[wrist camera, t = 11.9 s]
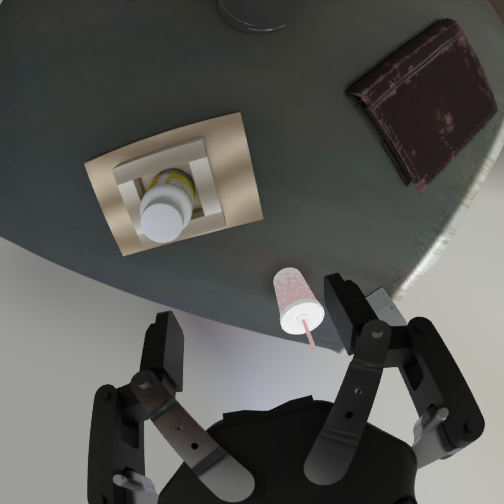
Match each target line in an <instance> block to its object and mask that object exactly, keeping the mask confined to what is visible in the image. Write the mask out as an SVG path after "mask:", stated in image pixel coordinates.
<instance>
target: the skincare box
mask: <svg viewBox="0 0 504 504" xmlns="http://www.w3.org/2000/svg"><path fill="white" fill-rule="evenodd" d="M366 299H367V301H368V302H369V304H370V305H371V307H372V309H373V310H374V312H375V313H376V315H377V317H378V318H379V320H383V321H385V322H387V323H388V324H389V325H390V326H404V325H408V324H407V323H406V321H405V319H404V318H403V316H402V315H401V313H400V312H399V310H398V309H397V307H396V306H395V304H394V303H393V301H392V300H391V298H390V297H389V295H388V294H387V293H386V291H385V290H384V288H383V287H381V288H380V289H378V290H377V291H375V292H373V293H372V294H370V295H369V296H367V297H366Z"/></svg>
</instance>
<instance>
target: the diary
mask: <svg viewBox="0 0 504 504" xmlns="http://www.w3.org/2000/svg"><path fill="white" fill-rule="evenodd" d="M345 95H346V96H349V95H355V96H358V97H361V99H360V100H359V101H358V102H359V103H361V102H362V101H364V103H365V104H366V106H365V107H364V110H365V111H366V113H367V114H368V116H369V117H370V118H371V120H372V121H373V123H374V124H375V126H376V127H377V129H378V130H379V132H380V133H381V135H382V137H383V138H384V140H383V141H382V142H381V145H382V147H383V148H384V150H385V151H386V153H387V155H388V156H389V158H390V160H391V161H392V163H393V165H394V167H395V169H396V170H397V172H398V174H399V175H400V177H401V179H402V180H403V182H404V183H405V185H406V186H408V185H409V183H410V181H411V180H412V181H413V184H414V183H415V185H416V188H417V190H418V193H419V194H420V193H421V192H422V191H423V190H424V189H425V188H426V187H427V186H428V185H429V184H430V183H431V182H432V181H433V180H434V179H435V178H436V177H437V176H438V175H439V174H440V173H441V172H442V171H443V170H444V169H445V168H446V167H447V166H448V165H449V164H450V162H451V161H452V160H453V159H454V158H455V157H456V156H457V155H458V154H459V153H460V152H461V151H462V150H463V148H464V147H465V146H466V145H467V144H468V143H469V142H470V141H471V140H473V139H474V138H475V137H476V136H477V135H478V134H479V133H480V132H481V131H482V130H483V129H484V127H485V126H486V125H487V124H488V123H489V121H490V120H491V119H492V118H493V116H494V115H495V114H496V113H497V111H498V110H499V109H498V106H497V103H496V100H495V98H494V95H493V92H492V89H491V87H490V84H489V82H488V79H487V77H486V74H485V72H484V70H483V67H482V65H481V63H480V61H479V59H478V57H477V55H476V54H475V52H474V50H473V48H472V46H471V44H470V43H469V41H468V39H467V38H466V36H465V34H464V33H463V31H462V29H461V27H460V26H459V24H458V22H457V21H455V20H452V19H449V18H446V19H442V20H441V21H439V22H438V23H436V24H435V25H434V26H432V27H431V28H430V29H428V30H427V31H425V32H424V33H423V34H421V35H420V36H418V37H417V38H415V39H414V40H412V41H411V42H409V43H408V44H406V45H405V46H403V47H402V48H401V49H399V50H398V51H397V52H396V53H394V54H393V55H392V56H391V57H389V58H388V59H387V60H386V61H385V62H383V63H382V64H381V65H380V66H378V67H377V68H376V69H374V70H373V71H372V72H370V73H369V74H368V75H366V76H365V77H364V78H362V79H361V80H360V81H358V82H357V83H356V84H354V85H353V86H352V87H351V88H350V89H349V90H348V91H347V92H346V93H345ZM359 103H357V104H356V105H355V106H357V105H358V104H359Z"/></svg>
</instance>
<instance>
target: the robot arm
mask: <svg viewBox="0 0 504 504" xmlns="http://www.w3.org/2000/svg"><path fill="white" fill-rule="evenodd" d="M314 1H316V0H218V10H219V13H220V14H221V16H222V18H223V19H224V20H225V21H226V22H227V23H228V24H229V25H231V26H232V27H233V28H235V29H238V30H240V31H242V32H246V33H251V34H267V33H272V32H275V31H277V30H280V29H281V28H283V27H284V26H286V25H287V24H288V23H289V22H290V21H291V20H293V19H294V18H295V17H296V16H297V15H299V14H300V13H301V12H302V11H303V10H304V9H306V8H307V7H308V6H309V5H311V4H312V3H313V2H314ZM324 300H325V305H326V308H327V310H328V312H329V314H330V316H331V318H332V321H333V323H334V325H335V327H336V329H337V331H338V333H339V336H340V338H341V340H342V342H343V344H344V346H345V349H346V351H347V353H348V355H349V356H350V355H352V354H354V357H353V359H352V361H351V362H350V364H349V367H348V369H347V372H346V375H345V377H344V380H343V382H342V385H341V387H340V390H339V392H338V395H337V397H336V399H335V402H334V403H332V402H329V401H323V400H313V398H312V395H310V396H306V397H302V398H298V399H294V400H290V401H288V402H286V403H284V404H282V405H280V406H278V407H276V408H273V409H271V410H269V411H254V410H252V411H251V410H242V411H236V412H229V413H223V420H220V421H218V422H216V423H215V424H213V425H212V426H211V427H209V428H208V429H207V430H206V431H205V430H204V429H203V428H202V427H201V426H200V425H199V424H198V423H197V422H196V421H195V419H194V418H193V417H192V416H191V415H190V414H189V413H188V412H187V411H186V410H185V409H184V408H183V407H182V406H181V405H180V403H179V402H178V401H177V400H176V399H175V395H176V394H175V393H176V392H182V391H183V353H184V335H183V332H182V329H181V327H180V325H179V323H178V322H177V320H176V318H175V316H174V314H173V312H172V311H166V312H161V313H157V316H156V322H155V323H154V324H151V325H150V326H149V328H148V329H147V331H146V334H145V339H144V340H145V341H144V346H143V347H144V348H143V351H142V358H141V364H140V371H139V372H138V373H136V374H135V375H134V376H133V378H132V379H131V382H130V383H129V384H127V385H125V386H122V387H119V388H117V389H116V388H115V387H114V386H113V385H110V384H107V385H103V386H101V387H100V388H99V389H98V390H97V392H96V394H95V398H94V404H93V412H92V421H91V429H90V440H89V455H88V480H87V481H88V482H87V483H88V484H87V485H88V486H87V498H88V503H89V504H418V503H417V501H416V498H415V494H414V484H415V477H416V472H417V470H418V469H419V468H422V467H424V466H426V465H428V464H430V463H432V462H434V461H436V460H438V459H447V458H449V457H451V456H452V455H454V454H455V453H457V452H459V451H460V450H462V449H463V448H465V447H466V446H468V445H469V444H471V443H472V442H474V441H475V440H477V439H478V438H479V437H480V436H481V435H482V433H483V431H484V426H485V422H484V418H483V416H482V414H481V411H480V409H479V407H478V405H477V403H476V401H475V399H474V397H473V395H472V392H471V390H470V388H469V387H468V385H467V383H466V381H465V379H464V377H463V375H462V373H461V372H460V369H459V368H458V366H457V364H456V363H455V361H454V359H453V357H452V355H451V353H450V352H449V350H448V348H447V347H446V345H445V343H444V342H443V340H442V338H441V337H440V335H439V333H438V332H437V330H436V329H435V327H434V325H433V324H432V322H431V321H430V320H428V319H427V318H424V317H415V318H413V319H411V320H410V321H409V323H408V325H404V326H390V325H389V324H388V323H387V322H385V321H383V320H379V318H378V317H377V315H376V313H375V312H374V310H373V309H372V307H371V305H370V304H369V302H368V301H367V299H366V298H365V296H364V294H363V293H362V291H361V290H360V288H359V287H358V285H357V284H355V283H354V282H352V281H351V280H347V281H344V280H343V279H342V277H341V276H340V274H339V273H334V274H331V275H327V276H324ZM388 367H398V368H399V371H400V373H401V375H402V377H403V379H404V382H405V384H406V386H407V388H408V391H409V393H410V396H411V398H412V401H413V403H414V405H415V408H416V410H417V413H418V415H419V419H418V421H417V422H416V423H415V425H414V431H413V432H414V443H413V445H412V447H410V446H409V445H408V444H407V443H406V442H404V441H402V440H400V439H398V438H396V437H394V436H392V435H390V434H389V433H387V432H385V431H383V430H381V429H379V428H377V427H376V426H374V425H372V424H370V423H368V422H367V420H368V417H369V414H370V411H371V408H372V405H373V402H374V399H375V396H376V393H377V390H378V386H379V383H380V379H381V376H382V372H383V368H388ZM148 419H151V421H152V422H153V423H154V425H155V426H156V427H157V429H158V430H159V431H160V433H161V434H162V435H163V436H164V438H165V439H166V440H167V441H168V443H169V444H170V445H171V446H172V447H173V448H174V450H175V451H176V452H177V453H178V454H179V456H180V457H181V458H182V459H183V460H184V462H183V463H182V464H181V466H180V467H179V469H178V470H177V471H176V473H175V474H174V475H173V477H172V478H171V479H170V480H169V482H168V483H167V484H166V486H165V487H164V488H163V490H162V491H161V492H160V494H159V495H157V493H156V491H155V488H154V484H153V483H152V481H151V480H150V479H149V478H147V477H145V464H144V463H145V462H144V421H145V420H148Z"/></svg>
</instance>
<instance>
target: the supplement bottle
mask: <svg viewBox="0 0 504 504" xmlns="http://www.w3.org/2000/svg"><path fill="white" fill-rule="evenodd" d="M194 195H195V186H194V182H193V180H192V178H191V177H190V176H189V175H188V174H187V173H186V172H185V171H183V170H180V169H177V168H170V169H166V170H163V171H161V172H160V173H159V174H158V175H157V176H156V177H155V178H154V180H153V181H152V183H151V184H150V186H149V188H148V189H147V191H146V193H145V194H144V196H143V198H142V200H141V204H140V216H141V220H140V224H141V228H142V231H143V233H144V234H145V235H146V236H147V237H148V238H149V239H151V240H153V241H155V242H159V243H166V242H170V241H172V240H174V239H176V238H177V237H178V236H179V235H180V233H181V231H182V230H183V229H184V228H185V227H186V226H187V225H188V223H189V221H190V219H191V216H192V211H193V203H194Z"/></svg>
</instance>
